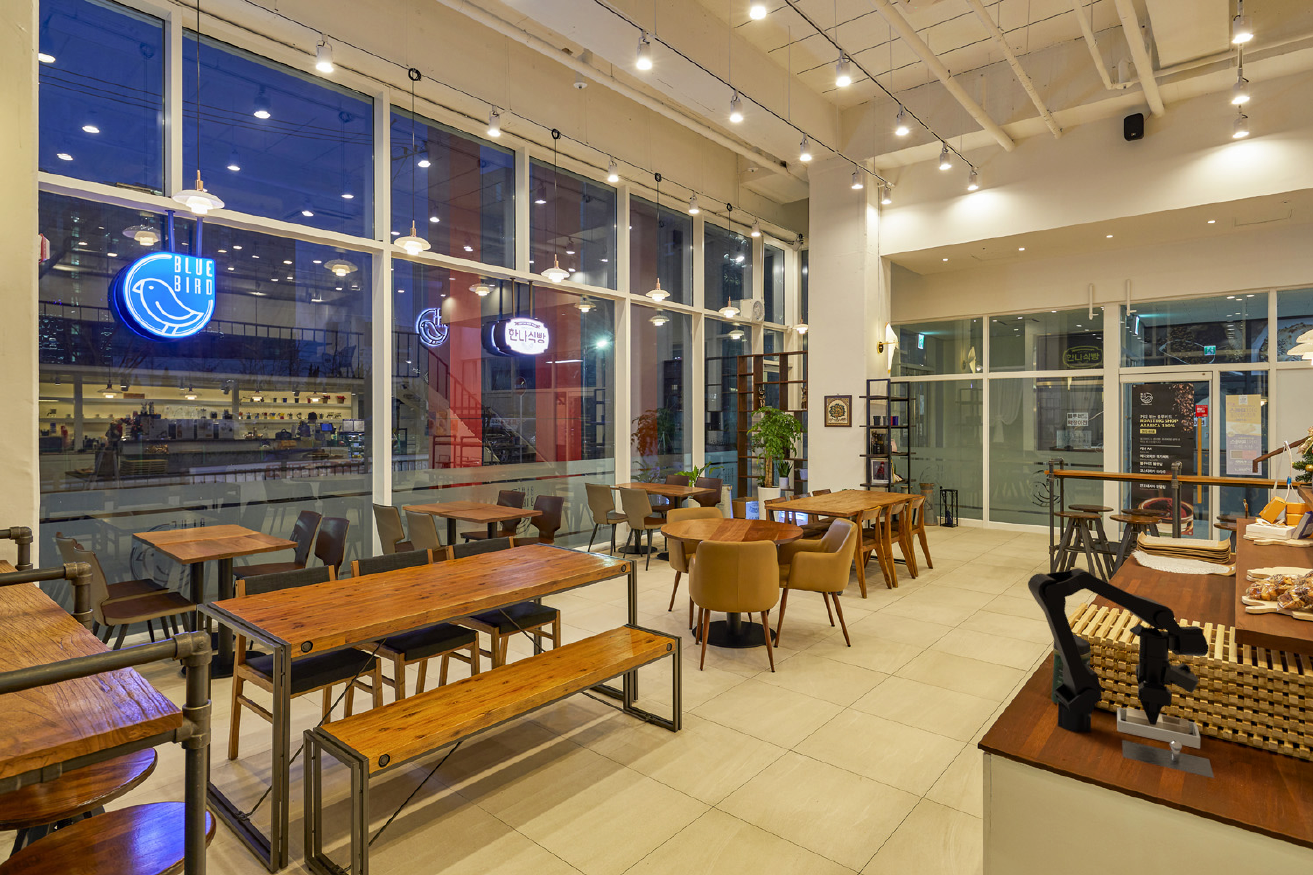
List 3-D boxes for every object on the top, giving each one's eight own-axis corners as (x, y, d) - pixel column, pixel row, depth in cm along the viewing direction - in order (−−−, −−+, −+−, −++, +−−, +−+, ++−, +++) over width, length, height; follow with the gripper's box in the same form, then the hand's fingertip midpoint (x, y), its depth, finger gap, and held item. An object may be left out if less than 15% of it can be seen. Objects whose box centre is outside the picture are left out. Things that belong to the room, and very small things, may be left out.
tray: (1117, 734, 165) (1117, 720, 165) (1116, 720, 172) (1117, 707, 172) (1199, 752, 156) (1200, 737, 156) (1195, 736, 164) (1196, 722, 164)
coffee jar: (1080, 714, 176) (1081, 643, 175) (1047, 703, 182) (1048, 635, 181) (1094, 703, 182) (1096, 635, 181) (1062, 693, 188) (1063, 627, 187)
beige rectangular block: (1126, 731, 166) (1127, 715, 165) (1126, 723, 170) (1126, 707, 170) (1189, 744, 159) (1189, 727, 159) (1186, 735, 163) (1187, 719, 163)
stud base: (1122, 761, 153) (1123, 737, 153) (1121, 744, 161) (1122, 721, 160) (1214, 782, 144) (1215, 757, 144) (1208, 763, 152) (1209, 739, 152)
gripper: (1200, 673, 152) (1198, 742, 153) (1191, 647, 167) (1189, 709, 168) (1139, 663, 158) (1137, 729, 159) (1136, 639, 173) (1134, 699, 174)
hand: (1151, 716), depth 165 cm, fingers open, 9 cm apart
